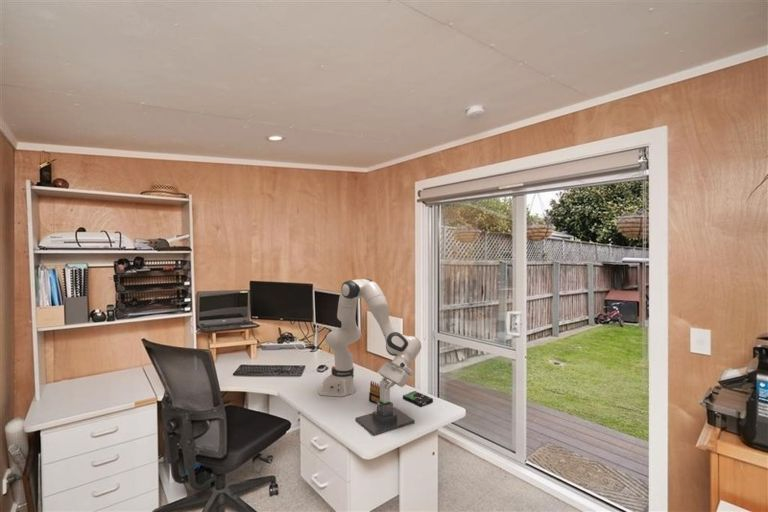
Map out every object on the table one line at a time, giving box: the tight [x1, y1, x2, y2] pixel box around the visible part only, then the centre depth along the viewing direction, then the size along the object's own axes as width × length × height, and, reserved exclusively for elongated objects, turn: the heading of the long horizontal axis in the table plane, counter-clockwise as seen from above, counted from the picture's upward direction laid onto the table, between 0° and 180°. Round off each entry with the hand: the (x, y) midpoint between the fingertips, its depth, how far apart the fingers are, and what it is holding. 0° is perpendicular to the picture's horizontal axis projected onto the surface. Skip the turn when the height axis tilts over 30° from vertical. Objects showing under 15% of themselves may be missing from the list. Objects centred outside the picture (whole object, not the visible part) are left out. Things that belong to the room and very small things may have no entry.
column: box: [379, 379, 391, 405], centre depth 189 cm, size 4×4×14 cm
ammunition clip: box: [368, 380, 380, 405], centre depth 211 cm, size 11×2×12 cm, turn 46°
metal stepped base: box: [354, 401, 415, 437], centre depth 189 cm, size 24×18×10 cm
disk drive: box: [402, 390, 434, 408], centre depth 216 cm, size 10×3×15 cm
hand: (383, 387), depth 189 cm, fingers closed on column, 4 cm apart
